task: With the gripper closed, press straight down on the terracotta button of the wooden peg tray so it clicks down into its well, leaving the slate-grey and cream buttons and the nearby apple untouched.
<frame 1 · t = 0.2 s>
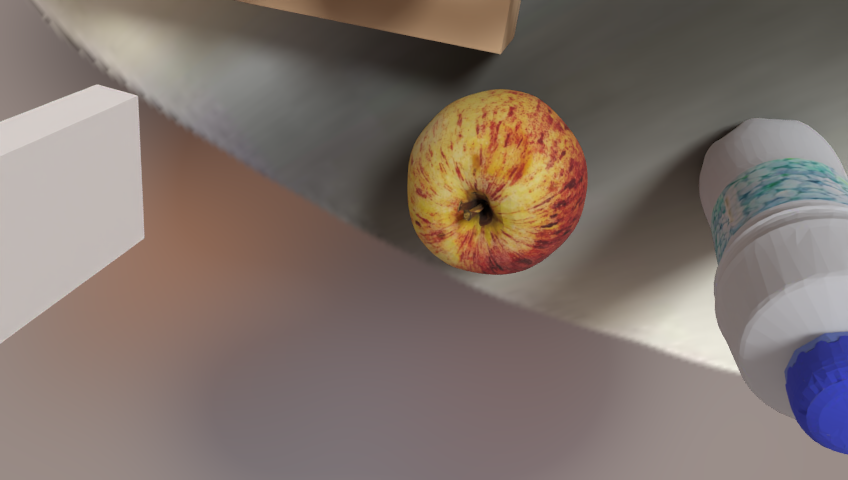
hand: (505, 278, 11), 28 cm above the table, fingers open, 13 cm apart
bottle: (759, 164, 36), on the table
apple: (511, 145, 39), on the table
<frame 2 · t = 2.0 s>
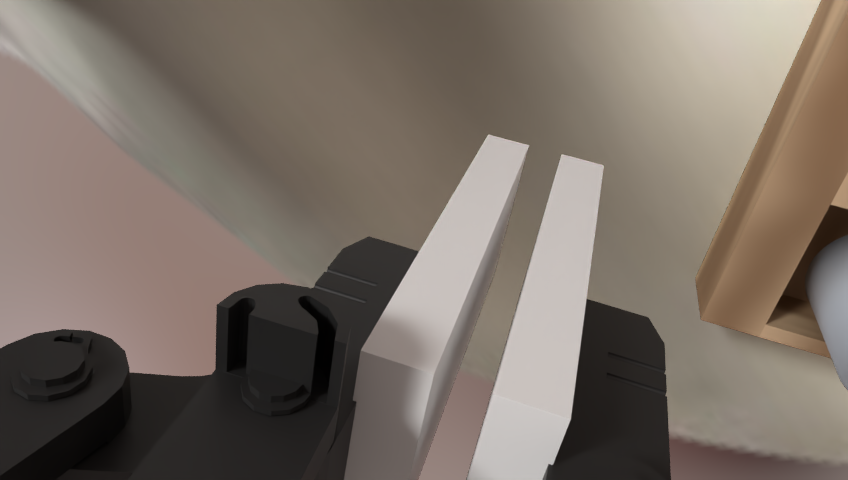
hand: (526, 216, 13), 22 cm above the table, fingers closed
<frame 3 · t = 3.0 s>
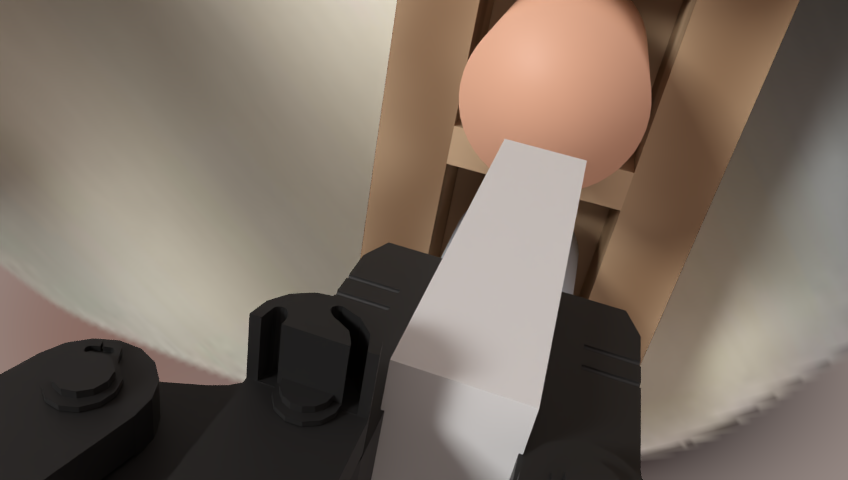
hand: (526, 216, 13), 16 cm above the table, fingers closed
slate button: (501, 290, 25), point 6 cm above the table, slide at 0.0 cm
terracotta button: (561, 76, 21), point 6 cm above the table, slide at 0.0 cm
wooden peg tray: (576, 33, 26), on the table
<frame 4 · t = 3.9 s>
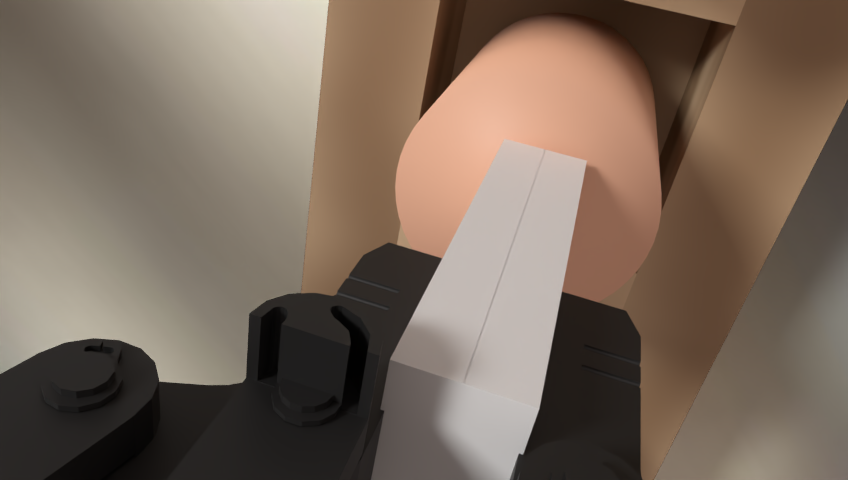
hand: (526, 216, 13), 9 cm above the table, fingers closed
terracotta button: (540, 150, 15), point 6 cm above the table, slide at 0.6 cm, touching gripper
wooden peg tray: (563, 84, 20), on the table
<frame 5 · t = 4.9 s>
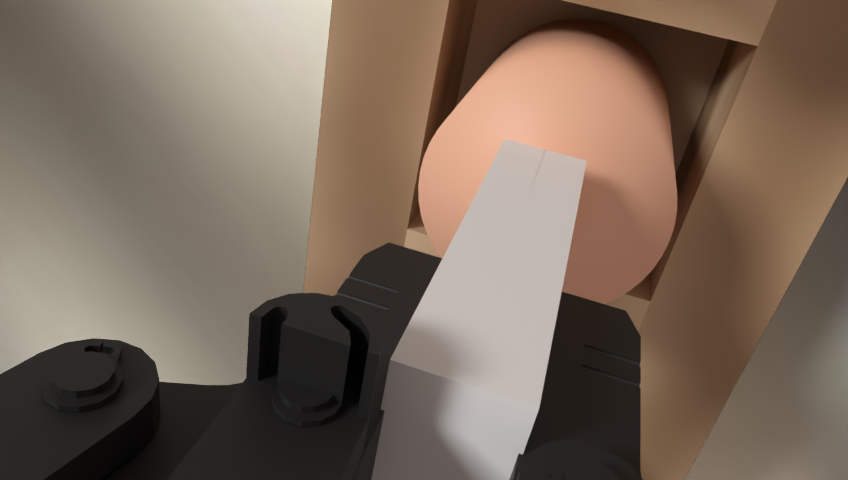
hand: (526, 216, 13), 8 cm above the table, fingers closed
terracotta button: (557, 153, 16), point 4 cm above the table, slide at 2.0 cm
wooden peg tray: (574, 102, 19), on the table
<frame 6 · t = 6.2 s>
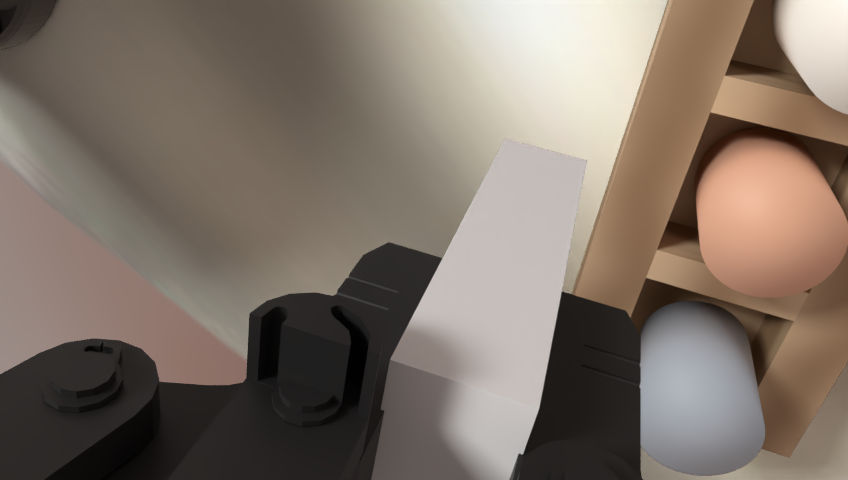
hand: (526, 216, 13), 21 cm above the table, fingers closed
slate button: (694, 383, 30), point 6 cm above the table, slide at 0.0 cm
terracotta button: (762, 208, 28), point 4 cm above the table, slide at 2.0 cm
wooden peg tray: (751, 172, 32), on the table
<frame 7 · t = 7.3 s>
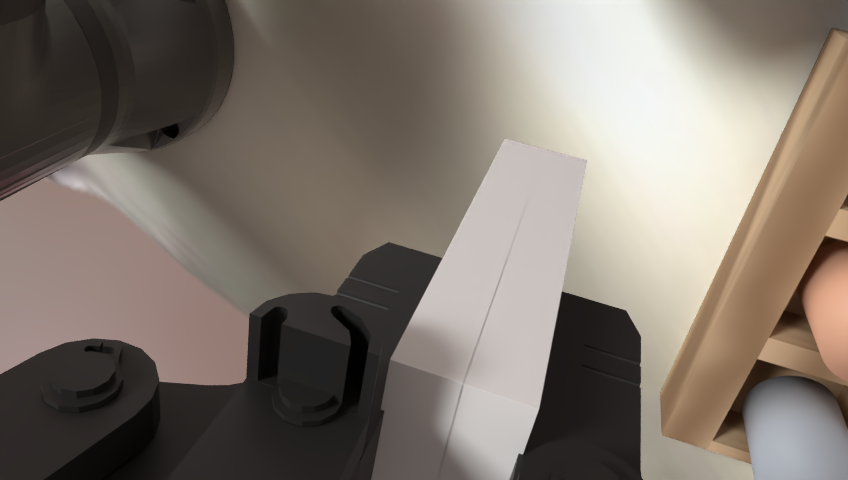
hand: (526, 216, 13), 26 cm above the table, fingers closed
slate button: (799, 447, 37), point 6 cm above the table, slide at 0.0 cm
wooden peg tray: (842, 269, 38), on the table
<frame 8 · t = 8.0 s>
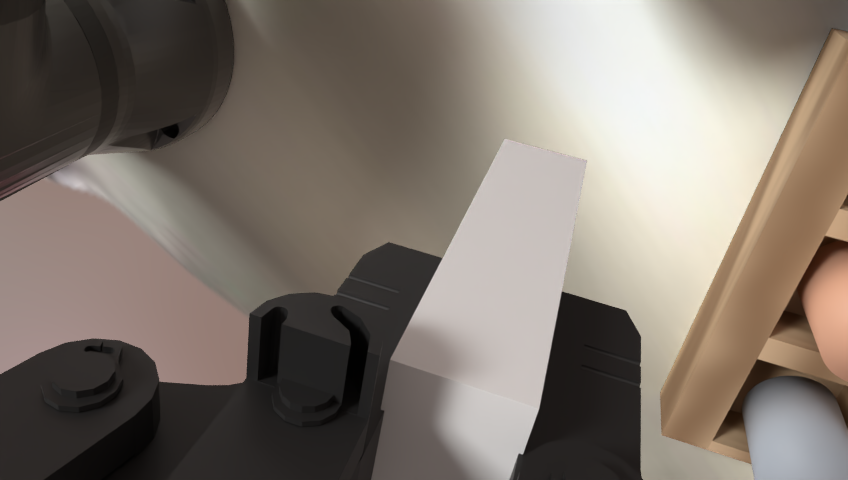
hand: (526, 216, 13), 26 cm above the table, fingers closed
slate button: (799, 447, 37), point 6 cm above the table, slide at 0.0 cm
wooden peg tray: (841, 269, 38), on the table
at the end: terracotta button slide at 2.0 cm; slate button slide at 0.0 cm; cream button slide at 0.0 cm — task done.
